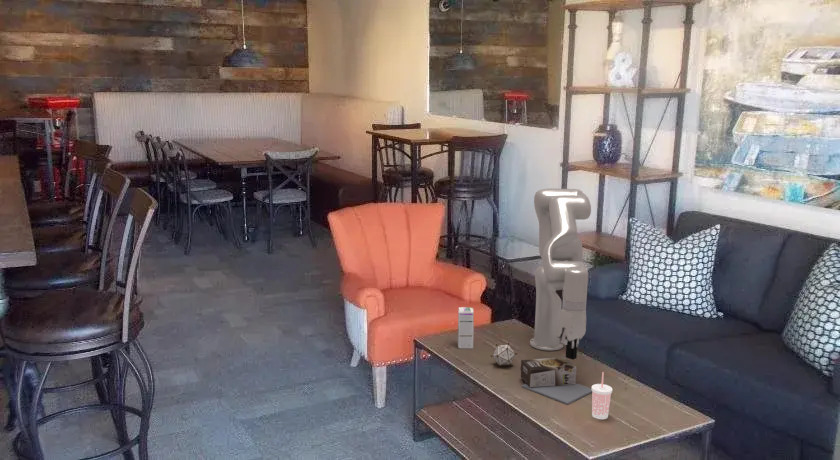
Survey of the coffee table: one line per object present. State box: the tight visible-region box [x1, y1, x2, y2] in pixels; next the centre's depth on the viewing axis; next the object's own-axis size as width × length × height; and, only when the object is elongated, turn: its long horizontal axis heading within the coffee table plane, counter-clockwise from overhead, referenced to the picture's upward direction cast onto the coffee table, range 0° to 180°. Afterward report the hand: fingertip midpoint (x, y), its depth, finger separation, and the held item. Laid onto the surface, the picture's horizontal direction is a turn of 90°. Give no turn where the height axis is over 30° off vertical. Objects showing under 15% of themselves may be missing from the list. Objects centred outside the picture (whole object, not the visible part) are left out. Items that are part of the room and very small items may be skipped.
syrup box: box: [457, 306, 475, 350], centre depth 273 cm, size 6×6×14 cm
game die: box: [490, 342, 518, 368], centre depth 256 cm, size 9×8×10 cm
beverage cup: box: [591, 371, 613, 420], centre depth 217 cm, size 6×6×14 cm
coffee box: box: [520, 356, 577, 387], centre depth 242 cm, size 9×6×16 cm
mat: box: [521, 382, 592, 406], centre depth 237 cm, size 15×18×1 cm
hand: (570, 358), depth 240 cm, fingers closed
